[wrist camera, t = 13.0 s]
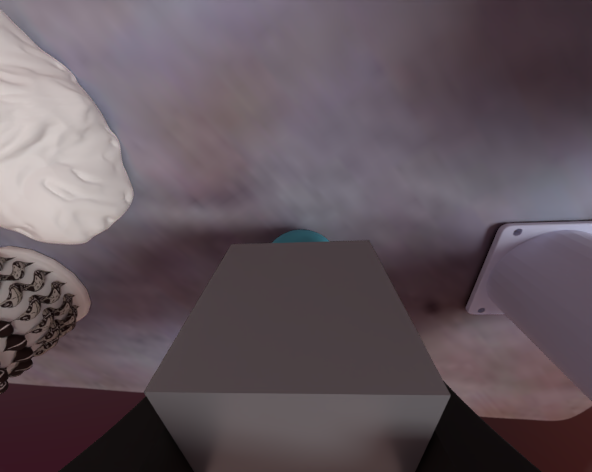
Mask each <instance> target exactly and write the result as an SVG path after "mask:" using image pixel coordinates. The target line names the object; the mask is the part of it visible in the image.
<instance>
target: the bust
mask: <svg viewBox="0 0 592 472" xmlns="http://www.w3.org/2000/svg"><path fill="white" fill-rule="evenodd" d="M133 196H134V193H133V188H132V185H131V183H130V180H129V177H128V175H127V172H126V170H125V168H124V166H123V163H122V155H121V147H120V142H119V140H118V138H117V137H116V135H115V134H114V133H113V132H112V131H111V130H110V128H109V127H108V125H107V122H106V121H105V119H104V117H103V115H102V113H101V112H100V110H99V109H98V107H97V106H96V104H95V103H94V101H93V100H92V99H91V97H90V96H89V95H88V94H87V93H86V92H85V91H84V89H83V88H82V87H81V86H80V85H79V84H78V82H77V80H76V78H75V76H74V75H73V73H72V72H71V71H70V70H69V69H67V68H66V67H65V66H64V65H63V64H62V63H60V62H59V61H57V60H56V59H55V58H53V57H52V56H50V55H49V54H47V53H46V52H44V51H43V50H42V49H40V48H39V47H38V46H37V45H36V44H35V43H34V42H33V41H32V40H31V39H30V38H29V37H28V36H27V35H26V34H25V33H24V32H23V31H22V30H21V29H20V28H19V27H18V26H17V25H16V24H15V23H14V22H13V21H12V20H11V19H10V18H9V17H8V16H7V15H6V14H5V13H4V12H3V11H2V10H1V9H0V227H2V228H6V229H9V230H13V231H17V232H19V233H21V234H23V235H25V236H27V237H29V238H31V239H34V240H37V241H41V242H45V243H54V244H84V243H86V242H88V241H89V240H91V239H92V237H93V236H95V235H97V234H99V233H101V232H103V231H104V230H107V229H108V228H109V227H110V226H112V224H113V223H114V222H115V221H117V220H118V219H119V218H120V217H121V216H122V215H123V214H124V213H125V212H126V211H127V210H128V208H129V206H130V204H131V203H132V200H133Z"/></svg>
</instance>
